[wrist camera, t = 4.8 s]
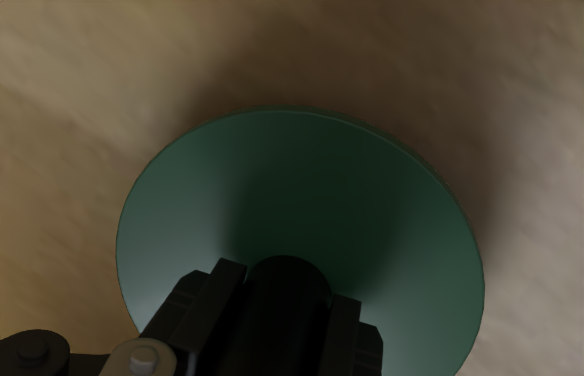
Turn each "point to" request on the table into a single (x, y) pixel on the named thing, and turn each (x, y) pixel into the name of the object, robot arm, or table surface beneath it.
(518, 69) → the table surface
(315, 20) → the table surface
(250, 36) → the table surface
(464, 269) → the lid
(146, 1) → the table surface
